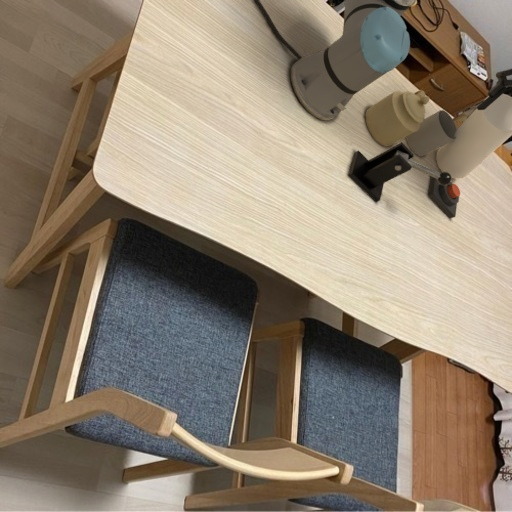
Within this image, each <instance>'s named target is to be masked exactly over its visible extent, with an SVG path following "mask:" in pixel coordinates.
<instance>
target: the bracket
mask: <svg viewBox="0 0 512 512" xmlns="http://www.w3.org/2000/svg"><path fill="white" fill-rule="evenodd" d="M397 150H399V151H401V152H403V153H406V154H408V155H409V156H408V159H409V160H411V159H413V158H414V157H415V153H414V152H413V151H412V150H411V149H410V148H409V147H407V146H406V144H404V143H403V141H401V142H399V143H397V144H396V145H394V146H392V147H390V148H388V149H386V150H384V151H382V152H380V153H379V154H377V155H376V156H374V157H372V158H370V159H368V158H367V157H366V156H365V154H363V153H362V152H361V151H360V150H356V151H355V152H354V154H353V157H352V160H351V165H350V168H349V172H348V175H347V176H348V177H349V178H350V179H351V180H352V181H353V182H354V183H356V185H357V186H359V187H360V189H361V190H362V191H364V193H366V194H367V195H368V196H369V197H370V198H371V199H372V200H373V201H374V202H375V203H377V202H380V201H381V198H382V193H383V189H384V184H385V183H387V182H389V181H391V180H393V179H395V178H397V177H399V176H401V175H403V174H405V173H407V172H409V171H411V170H412V168H411V167H412V166H411V165H410V164H409V163H408V162H407V161H406V160H405V159H404V158H403V157H402V156H401V155H400V154H398V155H396V156H394V154H395V153H396V151H397ZM393 156H394V157H393ZM392 157H393V158H392Z"/></svg>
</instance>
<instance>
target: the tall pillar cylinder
mask: <svg viewBox="0 0 512 512" xmlns="http://www.w3.org/2000/svg"><path fill="white" fill-rule="evenodd" d="M488 97H489V95H487V97H486V98H484V100H483V101H485V100H486V99H487V98H488ZM454 137H456V139H455V140H453V141H451V142H449V143H447V144H445V145H443V146H441V147H439V148H438V150H437V152H436V156H435V160H436V165H437V166H438V169H439V170H440V171H441V173H442V172H448V173H449V174H450V175H451V177H452V179H457V180H459V179H464V178H465V177H467V176H468V175H470V174H471V173H472V172H473V171H474V170H475V169H476V168H478V166H480V165H481V164H482V163H483V162H484V161H485V160H486V159H487V158H489V157H490V156H491V155H492V154H493V153H494V152H495V151H496V150H497V149H498V148H499V147H500V146H502V144H504V143H505V142H506V141H508V139H509V138H511V137H512V96H511V95H509V94H505V93H503V94H502V95H501V96H500V97H498V98H497V99H496V100H495V101H494V102H493V103H492V104H490V105H489V106H488V107H487V108H486V109H485V110H478V109H476V110H475V111H474V112H473V113H472V114H471V115H470V116H469V117H468V119H467V120H466V121H465V122H464V123H463V124H462V125H461V126H460V127H459V128H458V129H457V131H456V133H455V135H454Z"/></svg>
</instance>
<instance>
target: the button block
mask: <svg viewBox="0 0 512 512" xmlns="http://www.w3.org/2000/svg"><path fill="white" fill-rule="evenodd" d="M452 184H453V182H452V181H451V182H450V183H449V184H448V185H441V184H439V182H438V179H436V178H434V177H432V176H430V180H429V185H428V186H429V187H428V193H427V196H428V198H429V199H430V200H431V201H432V202H433V203H434V204H435V205H436V206H437V207H438V208H439V209H440V210H441V211H442V212H443V213H444V214H445V215H446V216H447V217H448V218H449V219H453V218H455V217H456V216H457V207H458V203H459V201H460V196H459V197H456V198H454V199H452V198H451V197H450V196H449V194H448V191H447V187H448V186H450V185H452Z"/></svg>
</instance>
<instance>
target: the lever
mask: <svg viewBox="0 0 512 512" xmlns="http://www.w3.org/2000/svg"><path fill="white" fill-rule="evenodd" d="M398 154H400V155H401V156H402V157H403V158H404V159H405V160H406V161H407V162H408V163H409V164H410V165H411V166H412V167H411V169H413V170H415V171H418V172H421V173H423V174H425V175H428V176H430V177H431V176H432V177H434V178H436V179H438V182H439V184H441V185H448V184H449V183H450V182H452V179H453V178H452V177H451V175H450V174H449V173H448V172H442V171H441V172H438V171H436V170H434V169H432V168H429V167H427V166H425V165H423V164H420V163H418V162H416V161H414V160H411V159H408V156H409V155H408V154H406V153H403V152H401V151H399V150H397V151H396V153H395V154H394V156H396V155H398ZM394 156H393V157H394ZM393 157H392V158H393Z"/></svg>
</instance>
